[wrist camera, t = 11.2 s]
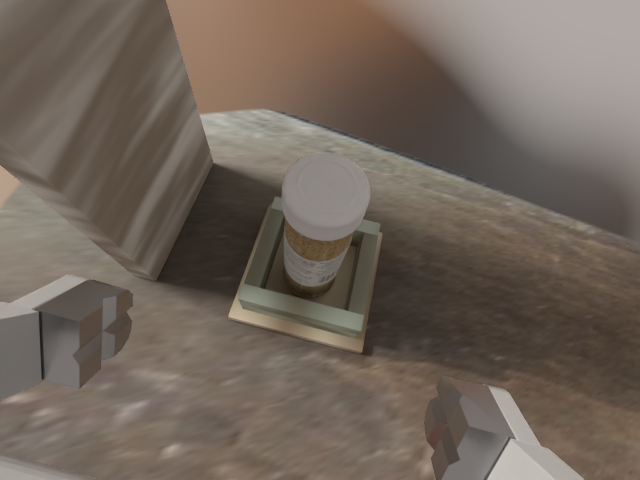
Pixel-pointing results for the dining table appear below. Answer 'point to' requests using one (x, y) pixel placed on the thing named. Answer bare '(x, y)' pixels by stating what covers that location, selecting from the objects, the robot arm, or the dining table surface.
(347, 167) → the sprinkles bottle
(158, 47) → the awning socket
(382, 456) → the dining table surface
